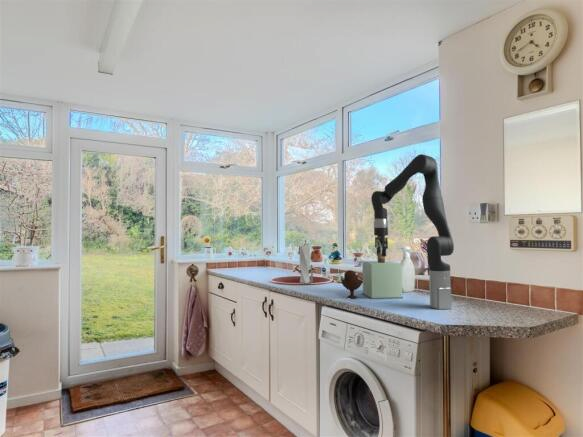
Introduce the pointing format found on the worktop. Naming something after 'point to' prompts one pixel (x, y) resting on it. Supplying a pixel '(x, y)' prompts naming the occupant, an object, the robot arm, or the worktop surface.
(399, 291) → the cover
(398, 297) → the mat
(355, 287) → the ice cream bowl
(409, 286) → the soap bottle
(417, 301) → the worktop surface
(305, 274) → the white pillar candle
